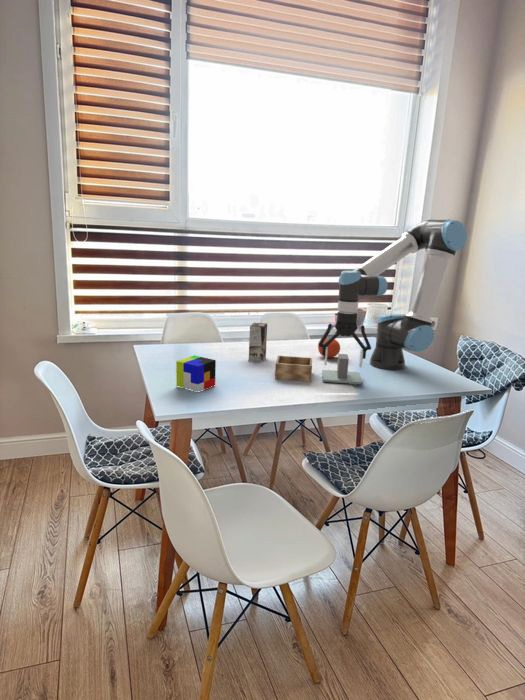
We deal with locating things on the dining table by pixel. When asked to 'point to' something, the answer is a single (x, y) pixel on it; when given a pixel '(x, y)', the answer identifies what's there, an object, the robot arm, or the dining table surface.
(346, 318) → the robot arm
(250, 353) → the coffee box
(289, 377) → the crate
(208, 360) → the puzzle toy
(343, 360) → the lid
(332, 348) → the orange fruit
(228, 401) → the dining table surface
